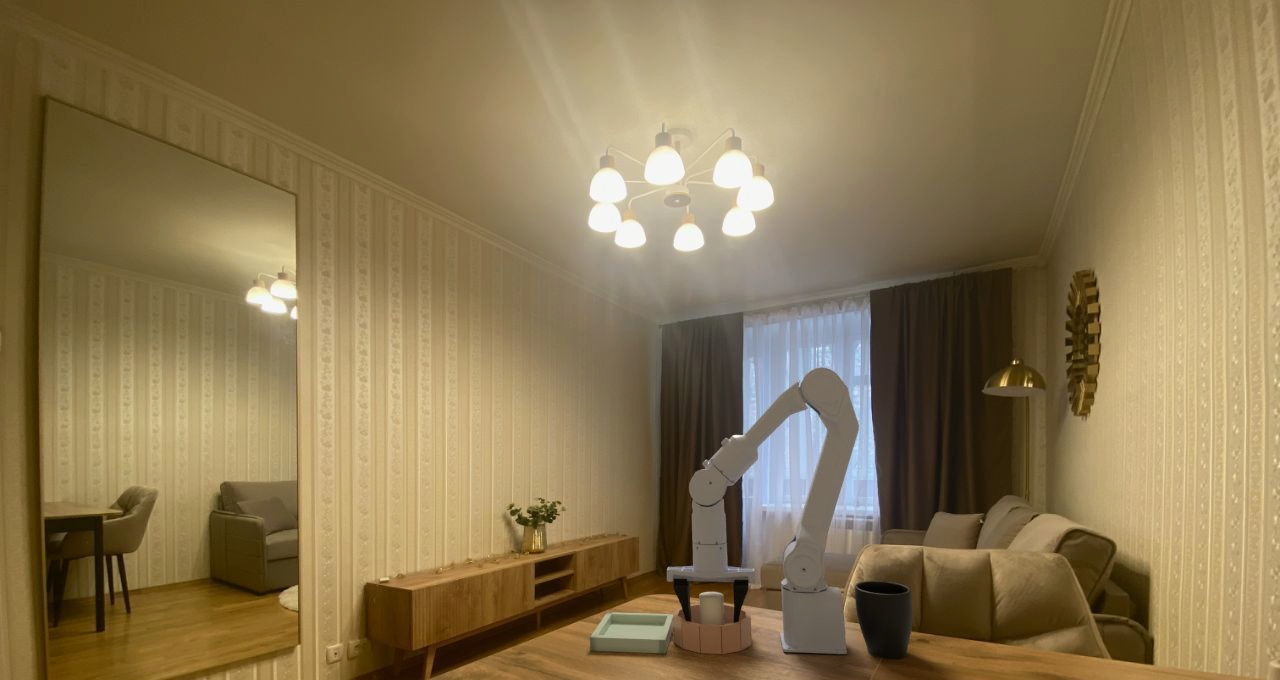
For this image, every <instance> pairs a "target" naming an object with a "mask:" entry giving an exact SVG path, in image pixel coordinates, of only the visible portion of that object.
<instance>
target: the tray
mask: <svg viewBox="0 0 1280 680" xmlns="http://www.w3.org/2000/svg"><path fill="white" fill-rule="evenodd" d="M673 614H674V613H649V612H648V613H645V612H644V613H643V612H616V611H615V612H614V611H613V612H611V611H608V612H606V613H605V615H604V616H603V618H602V619H601V621H600V622H599V624H598V625H597V627H596V628H595V630H594V631H593V632H592V634H591V635H590V637H589V641H590V642H589V650H590V651H594V652H615V653H618V652H621V653H640V654H641V653H643V654H645V653H646V654H667V651H668V647H669V644H670V640H671V638H672V636H673V635H672V634H673Z"/></svg>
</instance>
